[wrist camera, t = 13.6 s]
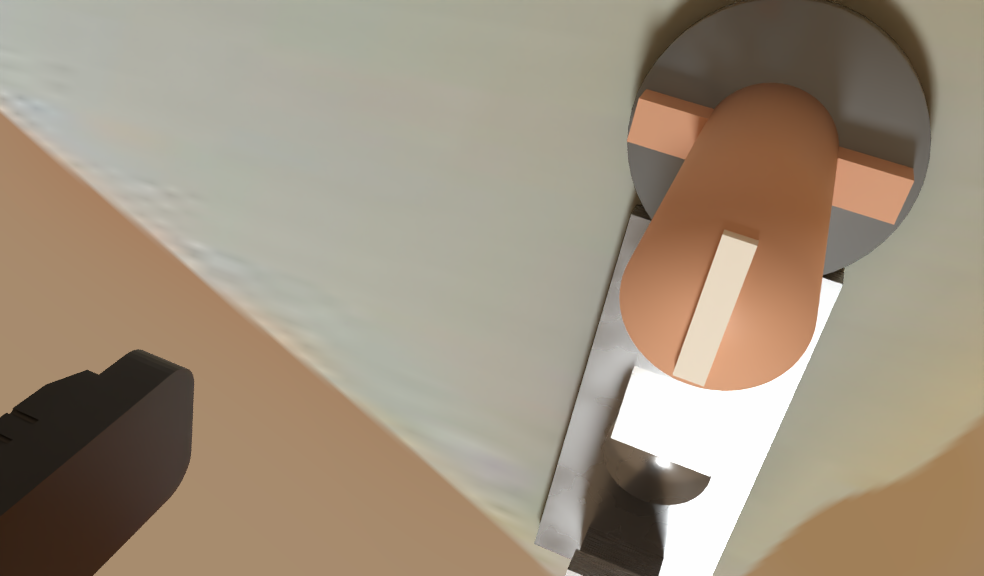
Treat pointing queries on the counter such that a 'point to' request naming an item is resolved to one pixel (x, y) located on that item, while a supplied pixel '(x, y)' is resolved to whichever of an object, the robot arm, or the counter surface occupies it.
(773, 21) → the coaster
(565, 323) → the counter surface
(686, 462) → the keeper post
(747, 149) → the knob
